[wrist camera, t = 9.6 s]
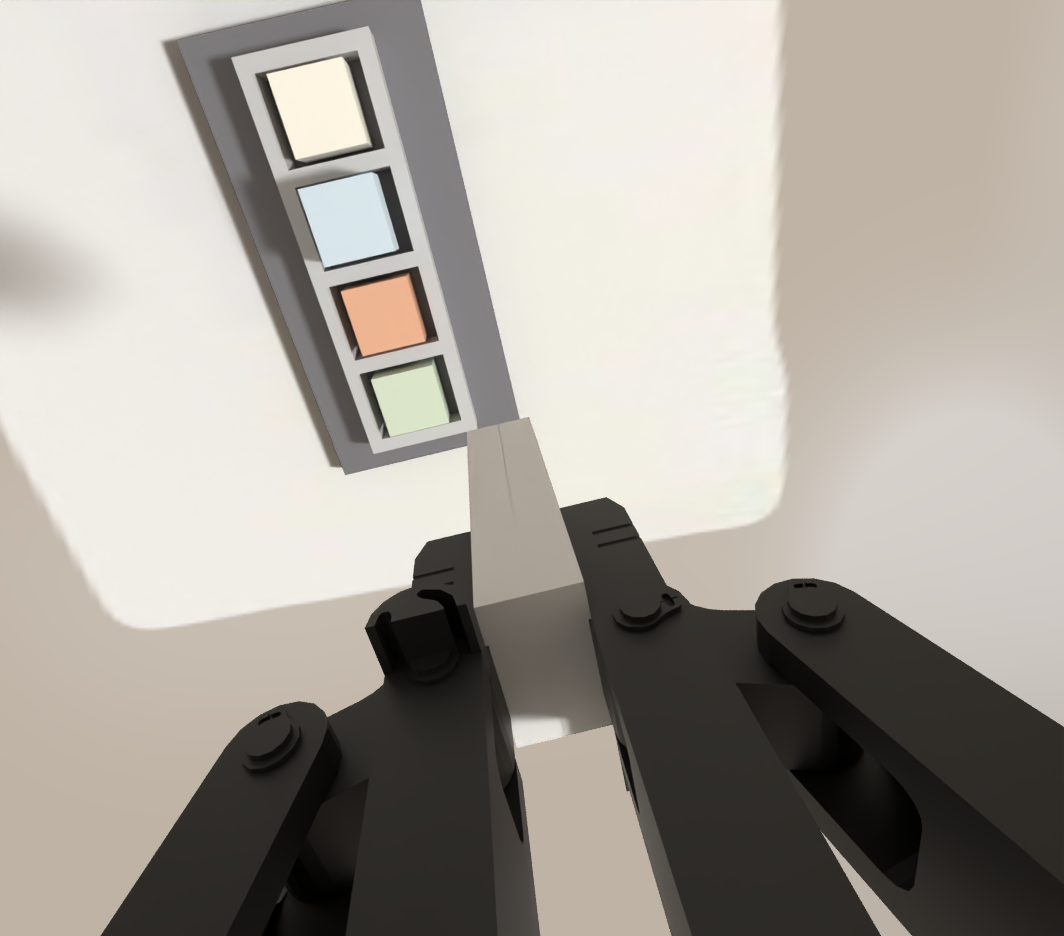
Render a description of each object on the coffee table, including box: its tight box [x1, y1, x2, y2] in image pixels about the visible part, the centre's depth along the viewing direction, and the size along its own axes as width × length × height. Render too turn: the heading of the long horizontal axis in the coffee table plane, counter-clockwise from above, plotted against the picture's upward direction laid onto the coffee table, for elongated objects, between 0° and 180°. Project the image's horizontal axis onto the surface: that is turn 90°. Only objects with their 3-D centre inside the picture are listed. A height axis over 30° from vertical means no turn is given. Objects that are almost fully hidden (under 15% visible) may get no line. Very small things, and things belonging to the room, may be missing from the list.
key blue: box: [298, 172, 399, 267], centre depth 29 cm, size 4×4×2 cm
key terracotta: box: [341, 272, 427, 356], centre depth 33 cm, size 4×4×2 cm
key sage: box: [371, 357, 450, 437], centre depth 35 cm, size 4×4×2 cm
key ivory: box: [267, 57, 373, 163], centre depth 29 cm, size 4×4×2 cm
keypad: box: [176, 0, 519, 475], centre depth 33 cm, size 24×12×3 cm, turn 12°
